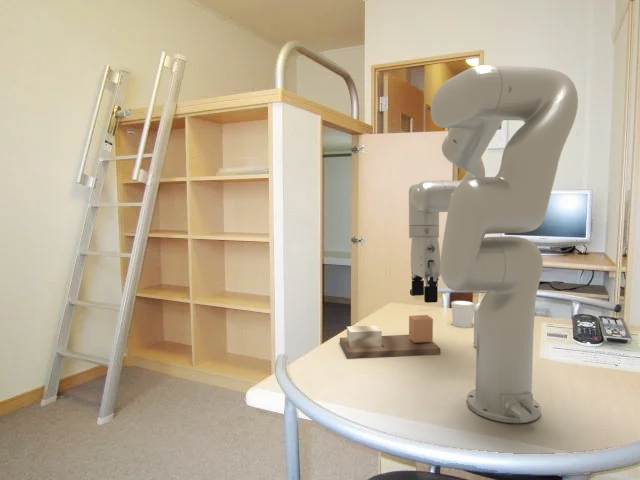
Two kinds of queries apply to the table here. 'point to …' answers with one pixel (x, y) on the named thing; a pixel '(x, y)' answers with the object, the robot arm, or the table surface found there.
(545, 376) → the table surface
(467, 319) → the white cup
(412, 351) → the ticket board
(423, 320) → the stub
